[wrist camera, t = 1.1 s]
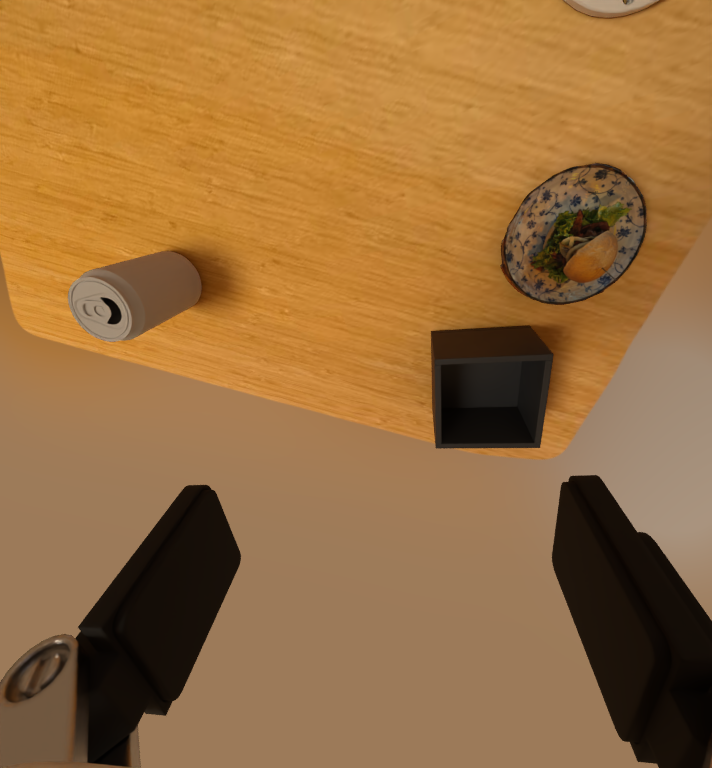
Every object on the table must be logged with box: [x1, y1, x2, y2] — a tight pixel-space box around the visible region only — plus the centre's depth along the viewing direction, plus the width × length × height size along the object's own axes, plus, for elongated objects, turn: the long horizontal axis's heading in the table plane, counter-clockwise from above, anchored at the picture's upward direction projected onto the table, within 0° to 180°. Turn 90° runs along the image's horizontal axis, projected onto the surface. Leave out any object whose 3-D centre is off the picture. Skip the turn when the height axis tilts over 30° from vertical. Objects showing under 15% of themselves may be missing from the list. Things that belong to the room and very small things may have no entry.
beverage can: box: [68, 251, 202, 342], centre depth 37 cm, size 6×6×12 cm
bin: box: [431, 326, 553, 448], centre depth 39 cm, size 10×10×8 cm
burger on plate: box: [501, 163, 647, 305], centre depth 31 cm, size 12×12×8 cm
